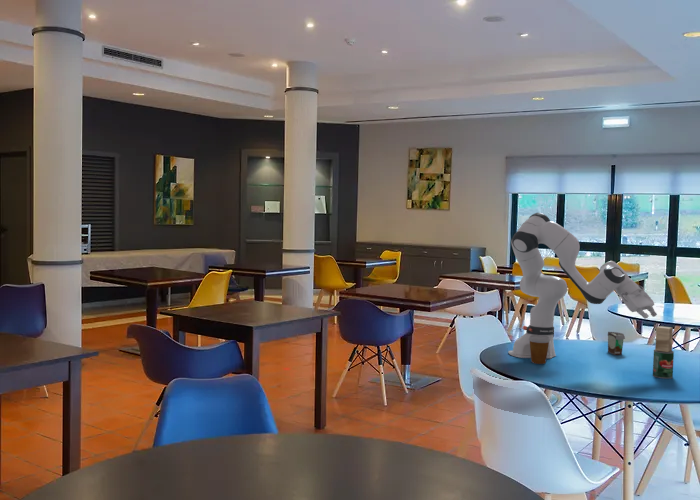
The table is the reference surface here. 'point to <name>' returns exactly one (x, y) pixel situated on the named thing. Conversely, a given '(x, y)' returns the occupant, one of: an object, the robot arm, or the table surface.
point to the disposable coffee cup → (539, 348)
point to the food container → (615, 343)
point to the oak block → (664, 339)
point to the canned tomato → (663, 364)
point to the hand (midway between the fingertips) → (651, 316)
